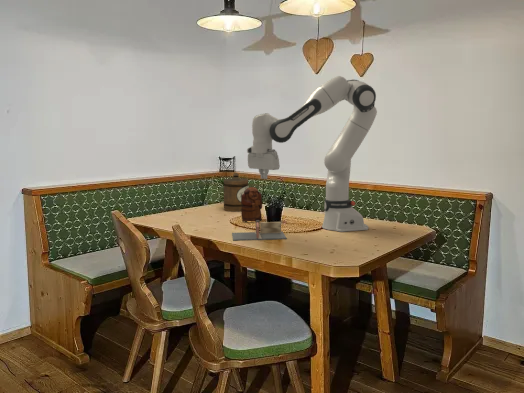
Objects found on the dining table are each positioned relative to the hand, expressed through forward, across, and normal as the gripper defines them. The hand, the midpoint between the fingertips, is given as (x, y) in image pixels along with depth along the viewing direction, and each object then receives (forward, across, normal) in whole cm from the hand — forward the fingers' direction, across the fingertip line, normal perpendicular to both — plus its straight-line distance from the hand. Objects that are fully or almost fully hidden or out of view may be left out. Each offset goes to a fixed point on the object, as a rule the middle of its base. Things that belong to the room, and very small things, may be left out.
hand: (264, 178), depth 223 cm
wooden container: (+24, +59, -22) cm, 68 cm away
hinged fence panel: (+25, -5, +9) cm, 27 cm away
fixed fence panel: (+25, -3, +1) cm, 25 cm away
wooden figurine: (+25, +26, -10) cm, 38 cm away
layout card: (+26, -4, +8) cm, 27 cm away
